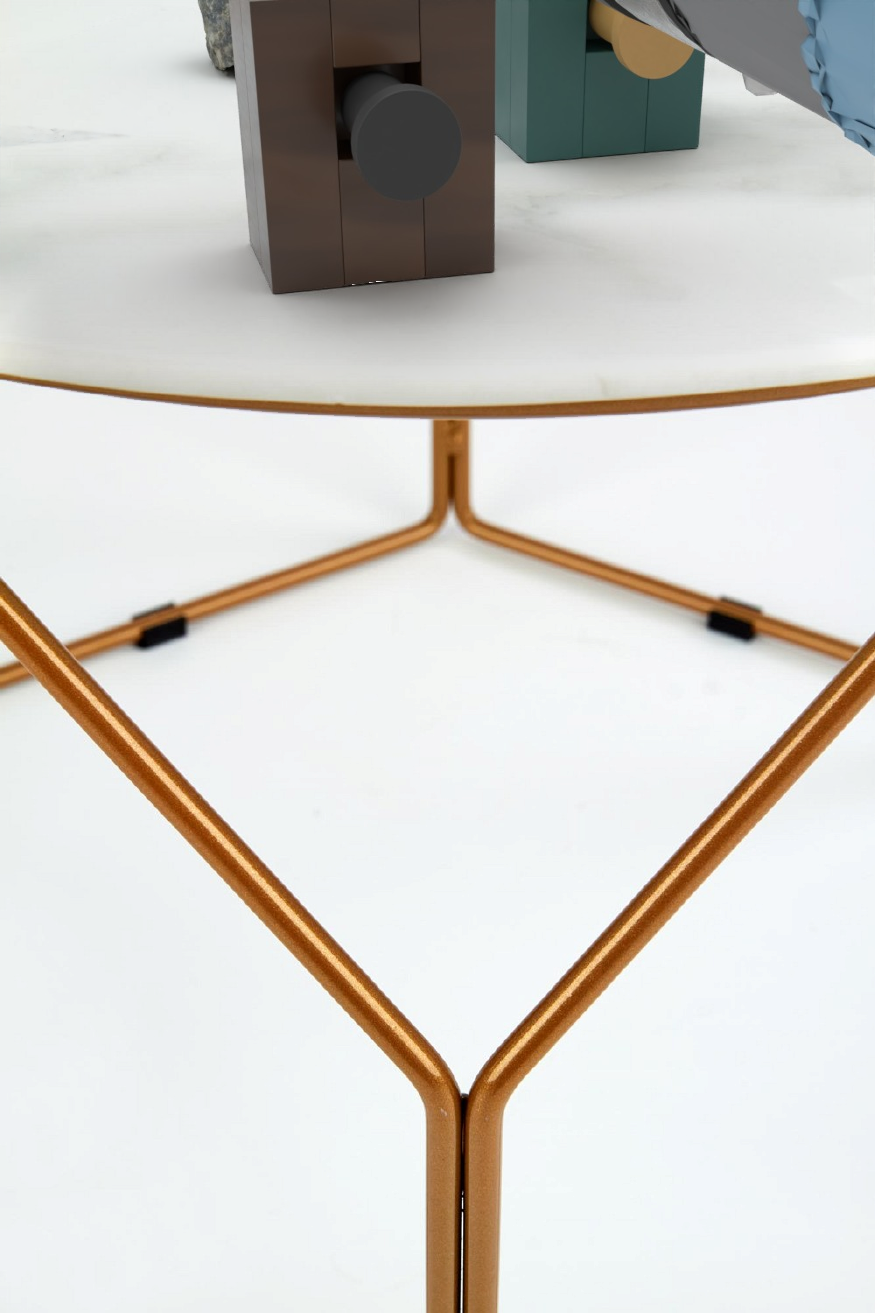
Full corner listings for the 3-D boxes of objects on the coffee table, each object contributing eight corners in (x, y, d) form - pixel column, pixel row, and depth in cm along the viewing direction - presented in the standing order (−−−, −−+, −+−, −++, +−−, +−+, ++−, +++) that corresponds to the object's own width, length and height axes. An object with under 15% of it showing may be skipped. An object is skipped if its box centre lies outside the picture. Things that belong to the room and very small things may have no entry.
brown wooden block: (249, 242, 78) (225, -30, 71) (454, 223, 80) (451, -43, 73) (272, 293, 72) (249, 1, 64) (494, 271, 74) (496, -15, 66)
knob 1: (328, 161, 70) (322, 57, 67) (424, 153, 71) (422, 50, 68) (358, 205, 64) (353, 93, 61) (462, 196, 65) (462, 85, 62)
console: (490, 129, 96) (490, -96, 89) (652, 116, 98) (665, -105, 91) (526, 162, 90) (529, -78, 82) (698, 147, 92) (716, -88, 84)
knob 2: (575, 54, 88) (577, -31, 85) (649, 49, 89) (654, -36, 86) (616, 81, 82) (620, -9, 79) (695, 75, 83) (702, -14, 80)
